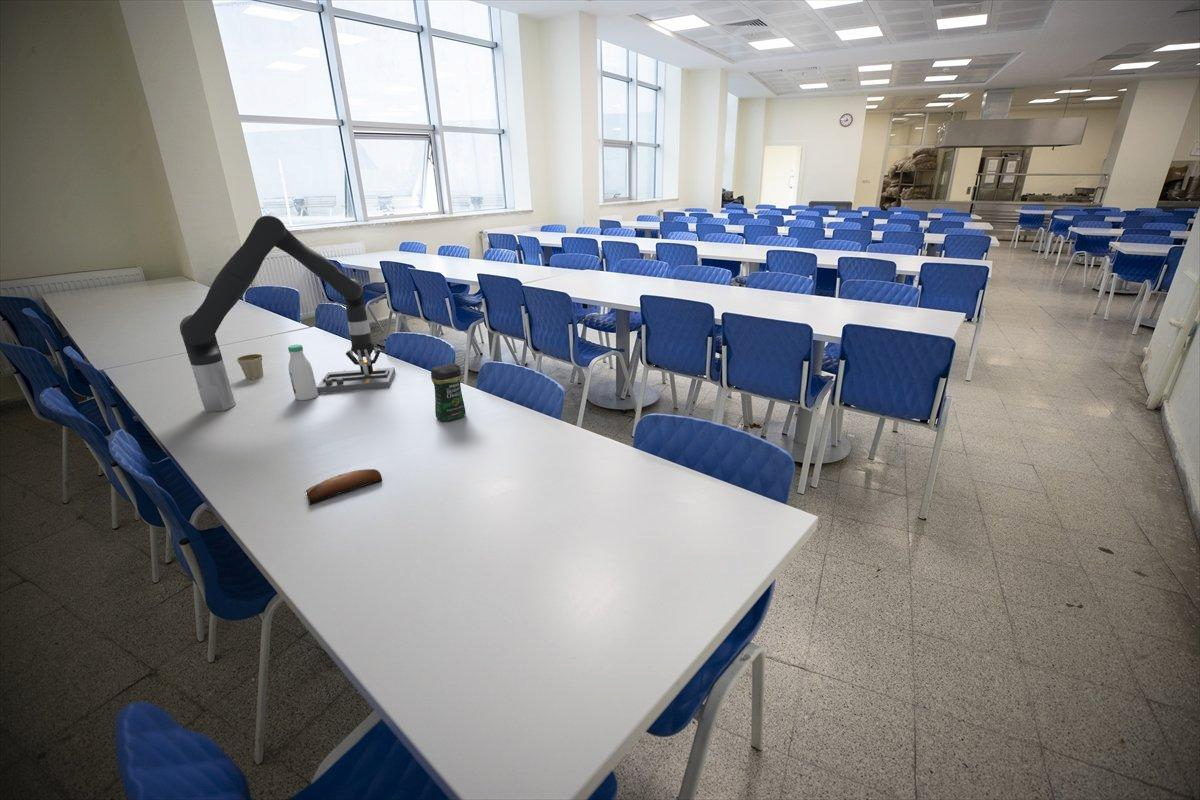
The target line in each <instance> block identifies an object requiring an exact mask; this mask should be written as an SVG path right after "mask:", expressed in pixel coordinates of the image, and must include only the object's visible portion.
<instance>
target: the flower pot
mask: <svg viewBox="0 0 1200 800" xmlns="http://www.w3.org/2000/svg"><path fill="white" fill-rule="evenodd" d="M263 356H264V355H263V354H262V353H252V354H245V355H241V356H238V357H237V358H235V360H236V362H237V363H238V365H239V366H240V367H241V370H242V372H243V374H244V376H245V379H246V380H253V379H255V380H256V379H260V378H263V376H264V369H263Z"/></svg>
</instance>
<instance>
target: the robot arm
mask: <svg viewBox="0 0 1200 800" xmlns="http://www.w3.org/2000/svg"><path fill="white" fill-rule="evenodd" d="M274 248H277V249H279V250H281V251H282V252H285V253H286V254H287V255H289V256H291V257H292V258H293V259H295V260H296V261H297V262H299V263H300V264H301V265H302V266H304V267H305V268H306V269H308V270H309V271H310V272H311V273H313V274H315V276H317V277H318V278H320V279H321V280H322V281H324V282H326V283H327V284H328V285H329V286H331V288H333V290H335V291H336V292H337V293H338V294H340V295H341V296H342V297H344V299H345V305H346V307H345V312H346V318H347V323H348V325H347V326H348V333H349V338H350V342H351V347H350V349H348V350H347V351H346V352H345V355H346V357H348V359H350V361H351V362H352V363H353V365H356V366H359V368H360V369H359V370H361V373H363V375H364V371H363V365H362V362H363V360H364V358H365V359H366V360H367V363H368V371H369V374H371V373H372V372H373V369H374V367H373V364H376V362H377V361H378V359H379V356H380V354H381V352H382V349H381V348H377V347H375V345H374V344H373V338H372V334H371V333H372V332H371V327H370V323H369V321H368V320H369V319H368V314H367V309H366V305H365V294H364V288H363V285H362V283H361V282H360V281H359V279H356V278H350V277H348V276H347V275H346V274H345V273H343V272H342V270H341V268H339V267H338V266H337V265H336V264H335V263H333V262H332V261H330V260H329V259H327V258H326V257H324V256H323V255H321V254H320V253H319V252H317V251H315V250H314V249H312V248H310V247H309V246H308V245H306V244H304V243H303V242H302V241H301V240H299V239H298V238H297V237H296V236H295V235H293V234H292V233H291V232H290V230H289V229H287V227H286V226H285V224H284V223H283V221H282V220H281V219H280V218H278V217H276V216H275V215H269V214H268V215H267V214H266V215H262V216H260V217H259V218H257V220H256V221H255V223H254V224H253V226H252V228H251V231H250V232H249V234H248V236H247V237H246V239H245V241H244V242H243V243H242V245H241V246H240V247H239V248H238V250H236V251H235V252H234V254H233V255H232V256H231V257H230V258H229V259H228V261H226V263H225V264H224V265H223V267H222V268H221V269H220V271H219V272H218V273H217V275H216V276H215V278H214V280H213V281H212V284H211V285H210V287H209V289H208V290H207V291H208V292H207V294H206V296H205V298H204V300H203V302H202V303H201V305H200V306H199V307H198V308H197V309H196V311H195V312H194V313H193V314H190V315H187V316H185V317H184V318H182V320H181V321H180V324H179V331H180V335H181V337H182V341H183V343H184V347H185V351H186V355H187V357H188V361H189V363H190V366H191V369H192V373H193V377H194V378H195V382H196V385H197V390H198V392H199V393H198V394H199V396H200V399H201V402H202V406H203V408H204V413H210V412H211V413H213V412H215V413H216V412H223V411H226V410H228V409H232V408H233V407H234V406H236V401H235V398H234V397H235V396H234V393H233V391H232V386H231V384H230V379H229V377H228V373H227V370H226V367H225V362H224V358H223V356H222V352H221V349H220V345H219V343H218V339H217V336H216V333H217V331H218V330H219V327H220V326H221V324H222V322H223V320H224V318H225V317H227V314H228V313H229V312H230V311H231V310H232V308H234V307H235V305H236V304H237V302H238V301H240V299H241V298H243V297H242V296H244V294H245V293H246V292H247V290H248V289H249V288H250V286H251V285H252V283H253V282H254V280H255V278H256V276H257V275H258V273H259V271H260V268H261V266H262V264H263V262H264V260H265V258H267V256H268V254H270V252H271V251H272V250H273V249H274ZM373 352H374V354H375V355H374V357H373V359H372V353H373ZM354 354H355V355H356V356H357V357H356V356H355V355H354ZM357 358H358V359H357Z"/></svg>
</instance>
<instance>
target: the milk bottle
mask: <svg viewBox="0 0 1200 800" xmlns="http://www.w3.org/2000/svg"><path fill="white" fill-rule="evenodd" d="M287 349H288V353H289V355H290V358H289V363H288V374H289V379H290V382H291V387H292V391H293V395H294V398H295V400H297V401H310V400H312V399H315V398H317V397H318V395H319V393H318V391H317V383H316V379H315V375H314V371H313V367H312V365H311V363H310V361H309V360H308V358H307V357H306V356H305V354H304V347H303V345H302V344H292V345H289V346H287Z"/></svg>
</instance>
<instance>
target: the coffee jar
mask: <svg viewBox="0 0 1200 800" xmlns="http://www.w3.org/2000/svg"><path fill="white" fill-rule="evenodd" d="M462 376H463V375H462V371H461V367H460V365H459V364H458V363H455V362H452V363H447V364H442V365H438V366H433V367H431V369H430V378H431V382H432V384H433V387H434V397H435V398H434V400H435V401H434V405H435V406H434V407H435V409H434V410H435V411H434V413H435V417H436V419H437V420H439V421H441V422H451V421H455V420H458V419H460V418H463V417H465V416H466V414H467V413H466V406H465V401H464V398H463V394H462V387H461V380H462Z"/></svg>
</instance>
